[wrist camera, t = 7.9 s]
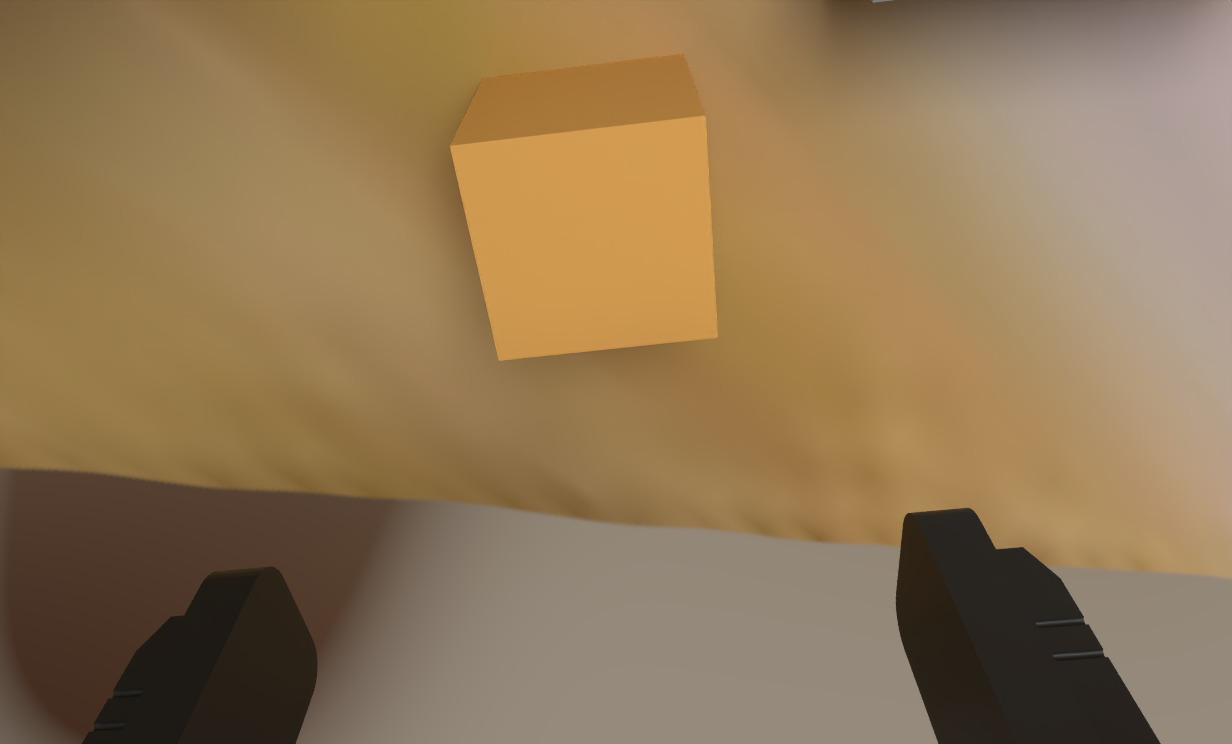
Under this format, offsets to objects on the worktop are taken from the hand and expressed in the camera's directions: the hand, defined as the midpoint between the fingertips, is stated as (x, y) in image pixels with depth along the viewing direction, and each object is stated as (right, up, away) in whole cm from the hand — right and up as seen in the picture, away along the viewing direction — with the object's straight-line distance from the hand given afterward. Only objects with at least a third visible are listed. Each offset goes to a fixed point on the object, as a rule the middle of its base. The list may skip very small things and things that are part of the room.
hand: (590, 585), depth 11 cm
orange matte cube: (0, +9, +14) cm, 16 cm away
